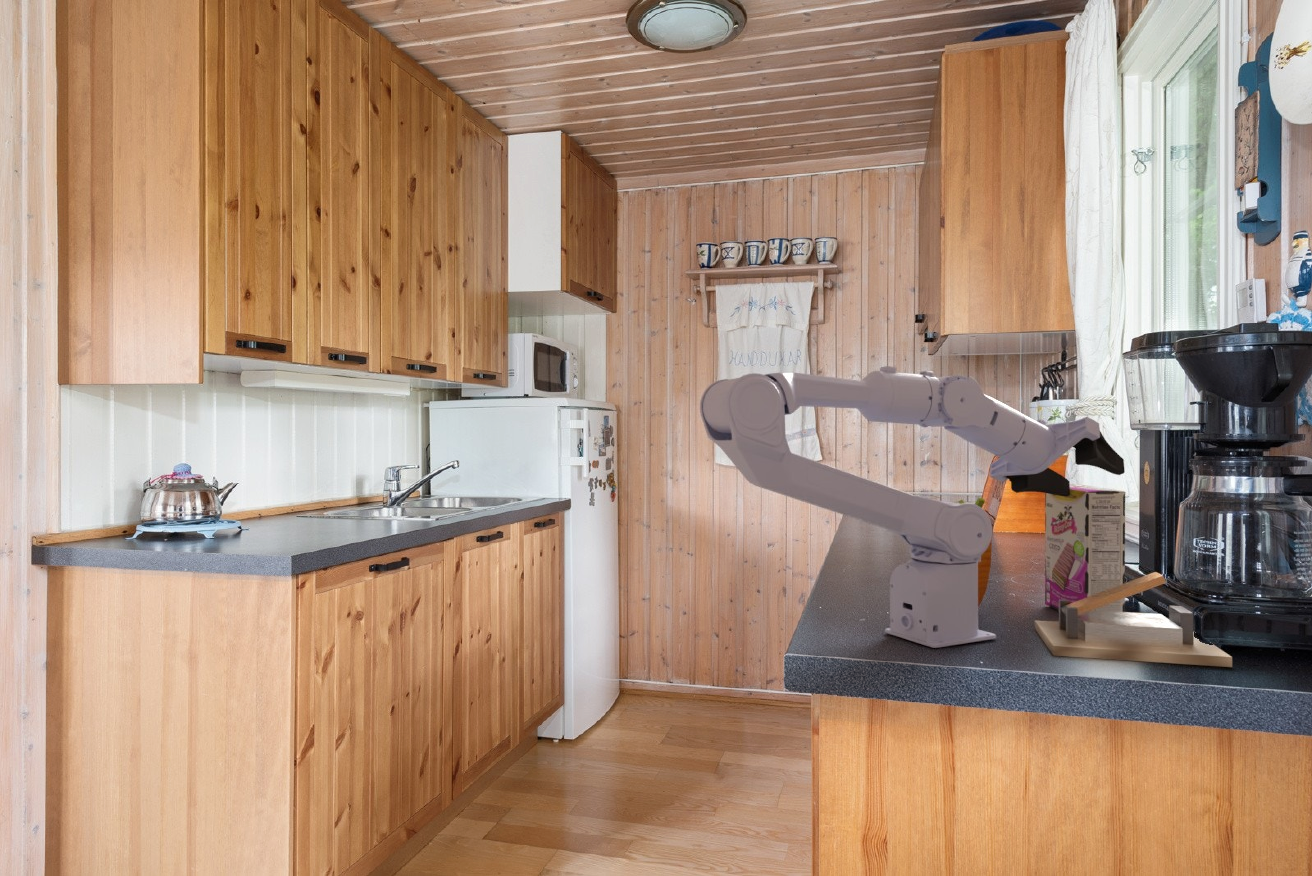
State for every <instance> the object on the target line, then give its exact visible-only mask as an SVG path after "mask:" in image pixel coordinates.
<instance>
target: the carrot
mask: <svg viewBox="0 0 1312 876" xmlns="http://www.w3.org/2000/svg"><path fill="white" fill-rule="evenodd" d="M985 500H986V499H985V498H983V497H978V498H977V500H976V501H975V503H974V504H975V505H978V506H979V507H981V508H982V509H983V506H984V504H985V502H986V501H985ZM958 503H972V502H970V501H967V502H965V501H964V500H963V499H960V500H959V501H958ZM992 543H993V536H992V537H991V541H990V544H989V546H988V548H987V549H986V551H985V552H984V553H983V554H982V555H981V562H978V608H979V607H980V605H981V603H982V601H983V599H984V597H985V594H986V591H987V589H988V583H989V579H990V573H991V565H992V552H993V550H992V548H993V547H992V546H993V545H992Z"/></svg>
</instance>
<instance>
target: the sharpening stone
mask: <svg viewBox="0 0 1312 876" xmlns="http://www.w3.org/2000/svg"><path fill="white" fill-rule="evenodd" d="M1068 604H1070V601H1069V600H1060V599H1059V611H1058V622H1059V629H1060V630H1066V637H1067V639H1078V635H1079V636H1080V637H1081V638H1082V639H1083V640H1084V641H1085V642H1090V643H1107V644H1123V645H1140V646H1156V647H1173V648H1183V644H1187V645H1194V632H1195V631H1194V629H1195V628H1194V613H1193V612H1192V611H1190V610H1189V609H1187V608H1185V607H1184V606H1183V605H1169V606H1168V617H1166V616H1164V615H1163V614H1162V613H1147V612H1130V611H1129V612H1128V611H1125V612H1111V611H1088V612H1086V613H1083V614H1080V615H1078V609H1077V608H1076V607H1066V615H1065V614H1064V613H1063V612H1062V610H1061V608H1062V607H1063V606H1064V605H1068Z"/></svg>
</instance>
